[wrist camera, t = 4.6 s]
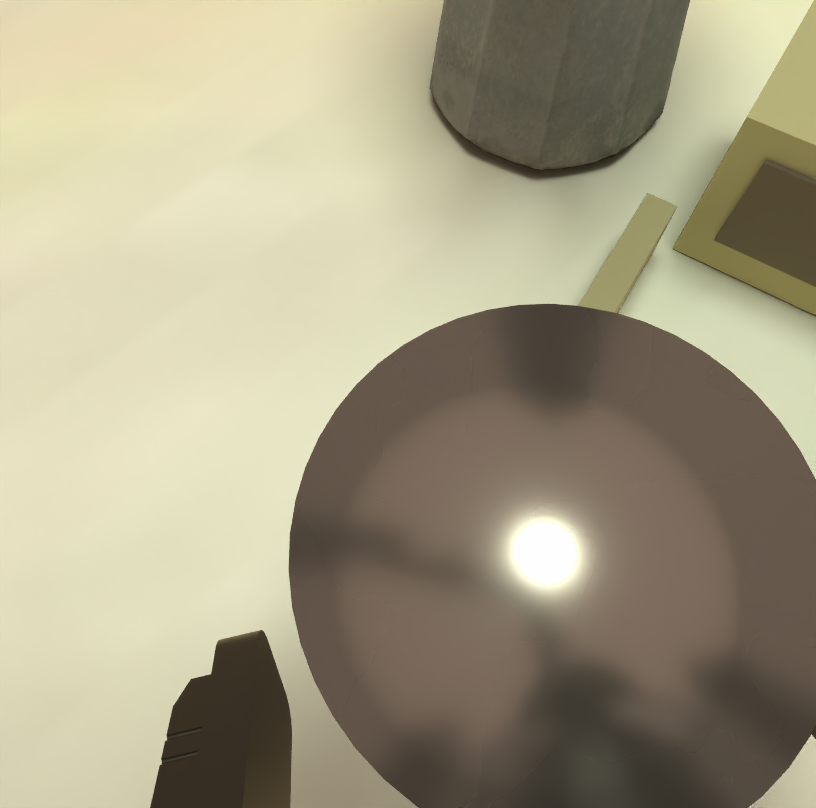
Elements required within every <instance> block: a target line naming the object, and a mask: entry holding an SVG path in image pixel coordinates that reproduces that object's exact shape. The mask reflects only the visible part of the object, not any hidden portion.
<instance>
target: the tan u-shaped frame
mask: <svg viewBox="0 0 816 808" xmlns="http://www.w3.org/2000/svg"><path fill="white" fill-rule="evenodd" d="M676 208H677V206H675V205H673V204H670V203H668V202H666V201H664V200H661V199H659V198H657V197H655V196H653V195H650V194H648V193H647V194H646V196H645V198H644V199H643V201H642V203H641V204H640V206H639V208H638V209H637V211H636V212H635V214H634V216H633V217H632V219H631V221H630V222H629V224H628V226H627V227H626V229H625V230H624V232H623V234H622V235H621V237H620V239H619V240H618V242H617V244H616V245H615V247H614V249H613V250H612V252H611V253H610V255H609V257H608V258H607V260H606V262H605V263H604V265H603V267H602V268H601V270H600V271H599V273H598V275H597V276H596V278H595V280H594V281H593V283H592V285H591V286H590V288H589V289H588V291H587V293H586V294H585V296H584V298H583V299H582V301H581V303H580V304H579V306H583V307H588V308H593V309H599V310H604V311H609V312H614V313H618V312H619V310H620V308H621V306H622V305H623V303H624V301H625V300H626V298H627V296H628V294H629V293H630V291H631V289H632V288H633V286H634V284H635V282H636V281H637V279H638V277H639V276H640V274H641V272H642V271H643V269H644V267H645V265H646V264H647V262H648V260H649V259H650V257H651V255H652V253H653V252H654V250H655V248H656V246H657V244H658V242H659V240H660V238H661V236H662V234H663V233H664V231H665V229H666V227H667V225H668V223H669V221H670V219H671V217H672V215H673V214H674V212H675V210H676ZM673 249H675V250H677V251H679V252H681V253H683V254H685V255H688V256H690V257H692V258H694V259H696V260H698V261H700V262H702V263H705V264H707V265H709V266H711V267H713V268H715V269H717V270H719V271H722V272H724V273H726V274H728V275H730V276H732V277H734V278H737V279H739V280H741V281H743V282H745V283H747V284H749V285H751V286H754V287H756V288H758V289H760V290H762V291H764V292H766V293H769V294H771V295H773V296H775V297H777V298H779V299H781V300H783V301H786V302H788V303H790V304H792V305H794V306H796V307H798V308H801V309H803V310H805V311H807V312H809V313H811V314H813V315H815V316H816V0H814V2H813V3H812V5H811V7H810V8H809V10H808V12H807V14H806V15H805V17H804V19H803V21H802V22H801V24H800V26H799V28H798V29H797V31H796V33H795V35H794V36H793V38H792V40H791V41H790V43H789V45H788V47H787V48H786V50H785V52H784V54H783V55H782V57H781V59H780V61H779V62H778V64H777V66H776V68H775V69H774V71H773V73H772V74H771V76H770V78H769V80H768V81H767V83H766V85H765V87H764V88H763V90H762V92H761V94H760V95H759V97H758V99H757V101H756V102H755V104H754V106H753V107H752V109H751V111H750V113H749V114H748V116H747V118H746V120H745V121H744V123H743V125H742V127H741V128H740V130H739V132H738V134H737V136H736V137H735V139H734V141H733V143H732V144H731V146H730V148H729V150H728V151H727V153H726V155H725V157H724V159H723V160H722V162H721V164H720V166H719V167H718V169H717V171H716V173H715V174H714V176H713V178H712V180H711V181H710V183H709V185H708V187H707V189H706V190H705V192H704V194H703V196H702V197H701V199H700V201H699V203H698V204H697V206H696V208H695V210H694V212H693V213H692V215H691V217H690V219H689V220H688V222H687V224H686V226H685V227H684V229H683V231H682V233H681V234H680V236H679V238H678V240H677V242H676V243H675V245H674V247H673Z"/></svg>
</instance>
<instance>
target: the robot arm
mask: <svg viewBox="0 0 816 808" xmlns="http://www.w3.org/2000/svg"><path fill="white" fill-rule="evenodd" d="M811 734H812V735H813V736H814V738H815V739H816V725H815V727H814V729H813V731H812V733H811ZM291 749H292V726H291V716H290V710H289V705H288V700H287V696H286V693H285V690H284V687H283V684H282V681H281V678H280V675H279V672H278V669H277V666H276V663H275V660H274V657H273V654H272V651H271V649H270V646H269V643H268V640H267V637H266V635H265V633H264V632H263V631H262V630H260V631H256V632H251V633H247V634H243V635H239V636H234V637H230V638H226V639H222V640H219V641H218V642H217V645H216V650H215V655H214V661H213V667H212V673H211V674H210V675H206V676H202V677H198V678H194V679H191V680H190V682H189V683H188V685H187V686H186V688H185V689H184V691H183V692H182V694H181V695H180V697H179V698H178V700H177V701H176V703H175V704H174V706H173V709H172V714H171V718H170V722H169V727H168V731H167V741H165V745H164V749H163V754H162V758H161V760H162V765H160V767H159V771H158V776H157V780H156V785H155V789H154V794H153V798H152V802H151V807H150V808H290V792H291Z"/></svg>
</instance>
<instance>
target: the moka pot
mask: <svg viewBox="0 0 816 808" xmlns="http://www.w3.org/2000/svg"><path fill="white" fill-rule="evenodd" d="M689 3H690V0H444V4H443V10H442V16H441V21H440V27H439V33H438V39H437V44H436V51H435V58H434V64H433V70H432V76H431V82H430V90H431V92H432V94H433V96H434V98H435V100H436V103H437V105H438V107H439V109H440V111H441V112H442V114H443V115H444V117H445V118H446V119H447V120H448V121H449V123H450V124H451V125H452V126H453V127H454V128H455V129H456V130H457V131H458V132H459V133H460V134H462V135H463V136H464V137H465V138H466V139H468V140H470V141H471V142H472V143H473V144H475V145H476V146H478V147H479V148H481V149H483V150H484V151H486V152H488V153H492V154H495V155H498V156H500V157H503V158H505V159H507V160H509V161H512V162H515V163H518V164H522V165H526V166H528V167H530V168H533V169H539V170H545V169H559V168H565V167H576V166H580V165H583V164H589V163H593V162H596V161H599V160H601V159H603V158H606V157H608V156H611V155H614V154H617V153H619V152H621V151H623V150H625V149H626V148H628V147H629V146H630V145H631V144H632V143H633V142H635V141H636V140H637V139H638V138H639V137H640V136H641V135H642V134H643V133H644V132H645V131H646V130H647V129H648V128H649V127H650V126H651V125H652V124H653V123H654V122H655V120H656V119H658V118H659V117H660V116H661V114H662V112H663V109H664V105H665V101H666V98H667V94H668V90H669V86H670V81H671V76H672V71H673V68H674V64H675V60H676V56H677V52H678V48H679V43H680V39H681V35H682V31H683V26H684V22H685V18H686V14H687V10H688V7H689Z"/></svg>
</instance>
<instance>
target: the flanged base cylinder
mask: <svg viewBox="0 0 816 808" xmlns="http://www.w3.org/2000/svg"><path fill="white" fill-rule="evenodd" d="M289 577H290V588H291V598H292V608H293V612H294V616H295V621H296V625H297V630H298V634H299V638H300V643H301V646H302V648H303V651H304V654H305V657H306V659H307V662H308V665H309V667H310V670H311V673H312V676H313V678H314V681H315V683H316V685H317V686H318V688H319V690H320V692H321V694H322V696H323V698H324V700H325V702H326V704H327V706H328V707H329V709H330V711H331V713H332V715H333V717H334V718H335V719H336V721H337V722H338V724H339V725H340V727H341V728H342V729H343V731H344V732H345V734H346V735H347V737H348V738H349V739H350V741H351V742H352V744H353V745H354V746H355V748H356V749H357V750H358V751H359V752H360V753H361V755H362V756H363V757H364V758H365V759H366V760H367V761H368V762H369V763H370V764H371V765H372V767H373V768H374V769H375V770H376V771H377V772H378V773H379V774H380V775H381V776H382V777H383V778H384V779H385V780H386V781H387V782H388V783H389V784H391V785H392V786H393V787H394V788H395V789H397V790H398V791H399V792H400V793H401V794H403V795H404V796H405V797H406V798H407V799H409V800H410V801H411V802H412V803H414V804H415V805H416V806H417V807H419V808H748V807H749V806H750V805H752V804H753V803H754V802H755V801H757V800H758V799H759V798H761V797H762V796H763V795H764V794H765V793H766V792H767V790H768V789H769V788H770V787H771V786H772V785H773V784H774V783H775V782H776V781H777V780H778V779H779V778H780V777H781V775H782V774H783V773H784V772H785V771H786V770H787V769H788V768H789V767H790V765H791V764H792V762H793V761H794V759H795V758H796V756H797V755H798V753H799V752H800V750H801V749H802V747H803V746H804V744H805V743H806V741H807V740H808V738H809V737H810V735H811V733H812V731H813V729H814V727H815V725H816V479H815V477H814V476H813V474H812V472H811V470H810V468H809V466H808V464H807V463H806V461H805V459H804V457H803V455H802V453H801V451H800V450H799V448H798V447H797V445H796V444H795V442H794V441H793V440H792V438H791V437H790V435H789V434H788V432H787V431H786V430H785V428H784V427H783V425H782V424H781V422H780V421H779V420H778V419H777V417H776V416H775V415H774V414H773V413H772V412H771V411H770V410H769V408H768V407H767V406H766V405H765V404H764V403H763V402H762V400H761V399H760V398H759V397H758V396H757V395H756V394H755V393H754V392H753V391H752V390H751V389H750V388H749V387H747V386H746V385H745V384H744V383H743V382H742V381H741V380H740V379H739V378H738V377H736V376H735V375H734V374H733V373H732V372H731V371H730V370H728V369H727V368H725V367H724V366H723V365H721V364H720V363H719V362H717V361H716V360H714V359H713V358H712V357H710V356H709V355H708V354H706V353H705V352H703V351H702V350H700V349H698V348H696V347H695V346H693V345H691V344H689V343H688V342H686V341H684V340H682V339H681V338H679V337H677V336H675V335H673V334H671V333H669V332H666V331H664V330H662V329H660V328H657V327H655V326H653V325H650V324H648V323H646V322H643V321H640V320H637V319H633V318H630V317H627V316H624V315H620V314H617V313H614V312H609V311H604V310H599V309H593V308H588V307H583V306H571V305H558V304H535V305H516V306H510V307H504V308H497V309H491V310H486V311H482V312H479V313H475V314H472V315H468V316H465V317H461V318H458V319H455V320H453V321H451V322H448V323H446V324H443V325H441V326H438V327H436V328H434V329H431V330H429V331H427V332H426V333H424V334H422V335H420V336H419V337H417V338H415V339H413V340H411V341H410V342H408V343H406V344H404V345H403V346H401V347H400V348H399V349H397V350H396V351H395V352H393V353H392V354H391V355H389V356H388V357H387V358H385V359H384V360H383V361H381V362H380V363H379V364H377V365H376V366H375V367H374V368H373V369H372V370H371V371H370V372H369V373H368V374H367V375H366V376H365V377H364V378H363V379H362V380H361V381H360V382H359V383H358V384H357V385H356V386H355V387H354V388H353V389H352V391H351V392H350V393H349V394H348V396H347V397H346V398H345V399H344V401H343V402H342V403H341V404H340V405H339V407H338V408H337V409H336V411H335V412H334V414H333V415H332V417H331V419H330V420H329V422H328V424H327V425H326V427H325V428H324V430H323V432H322V433H321V435H320V437H319V439H318V441H317V443H316V445H315V447H314V450H313V452H312V454H311V456H310V459H309V461H308V463H307V465H306V467H305V471H304V474H303V477H302V481H301V484H300V487H299V491H298V494H297V497H296V501H295V507H294V513H293V519H292V525H291V531H290V549H289Z"/></svg>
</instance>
